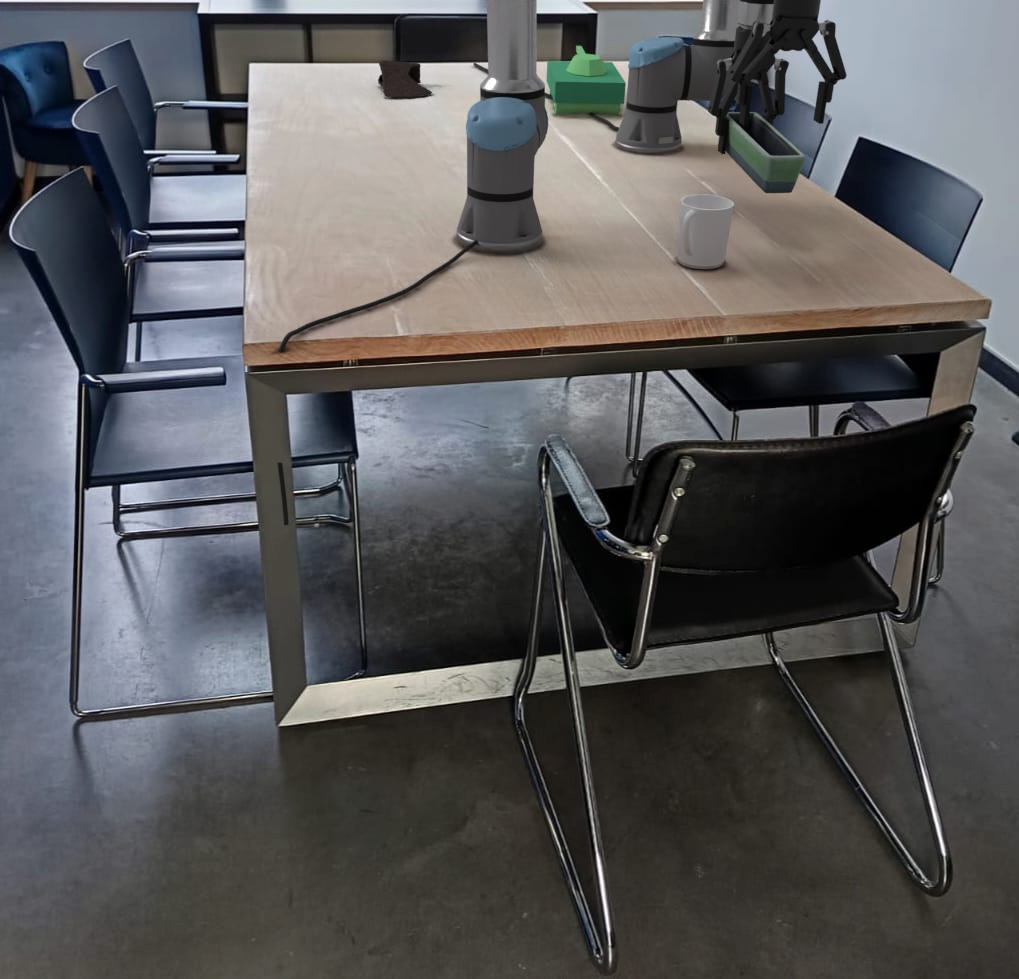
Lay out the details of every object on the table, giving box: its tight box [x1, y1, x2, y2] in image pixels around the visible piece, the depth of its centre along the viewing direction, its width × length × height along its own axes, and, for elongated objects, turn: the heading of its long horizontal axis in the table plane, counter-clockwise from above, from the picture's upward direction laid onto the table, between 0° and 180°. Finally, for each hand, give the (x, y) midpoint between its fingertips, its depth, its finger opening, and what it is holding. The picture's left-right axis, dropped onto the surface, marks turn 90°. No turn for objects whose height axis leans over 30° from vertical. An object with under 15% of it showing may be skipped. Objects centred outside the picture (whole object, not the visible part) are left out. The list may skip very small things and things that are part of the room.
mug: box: [676, 193, 735, 270], centre depth 185 cm, size 11×9×10 cm
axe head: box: [377, 59, 433, 99], centre depth 299 cm, size 18×8×15 cm
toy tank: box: [546, 45, 627, 116], centre depth 289 cm, size 18×12×35 cm
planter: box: [726, 111, 806, 194], centre depth 204 cm, size 28×7×7 cm, turn 8°
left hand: (780, 123), depth 191 cm, fingers open, 13 cm apart
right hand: (740, 151), depth 214 cm, fingers closed on planter, 7 cm apart
